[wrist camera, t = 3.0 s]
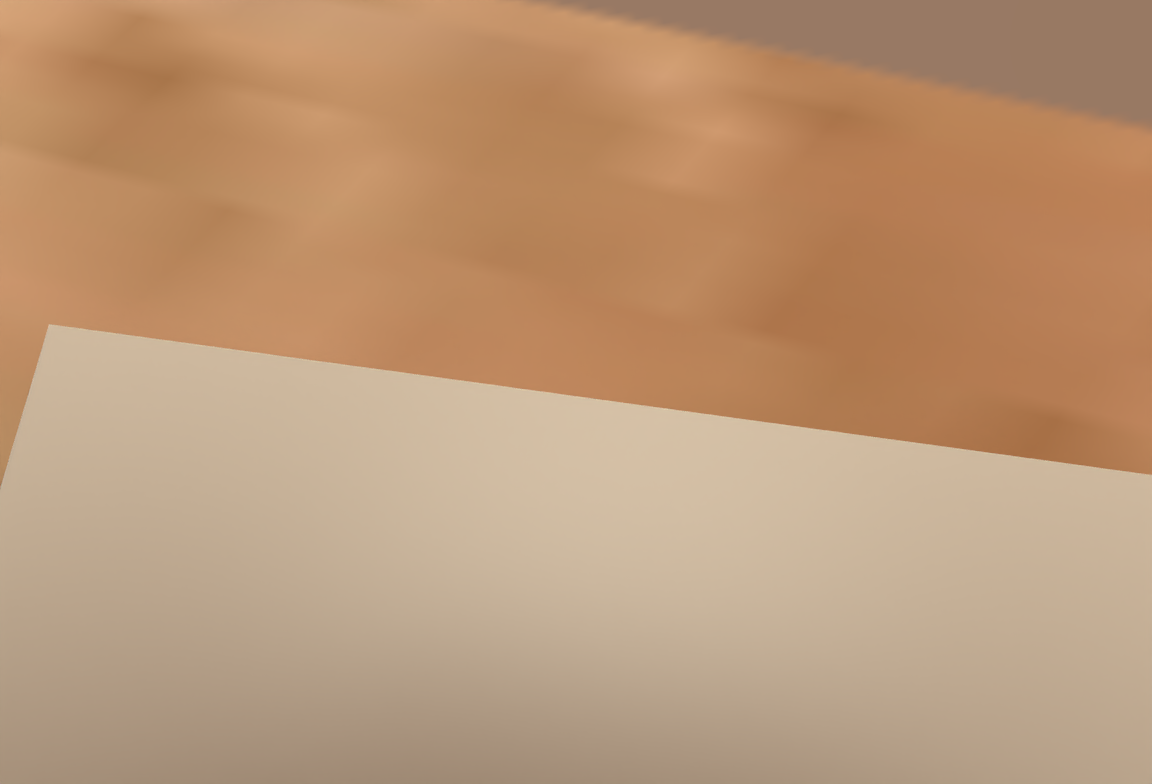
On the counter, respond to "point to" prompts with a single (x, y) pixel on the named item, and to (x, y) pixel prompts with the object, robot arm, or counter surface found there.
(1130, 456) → the counter surface
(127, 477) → the block
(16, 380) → the counter surface
